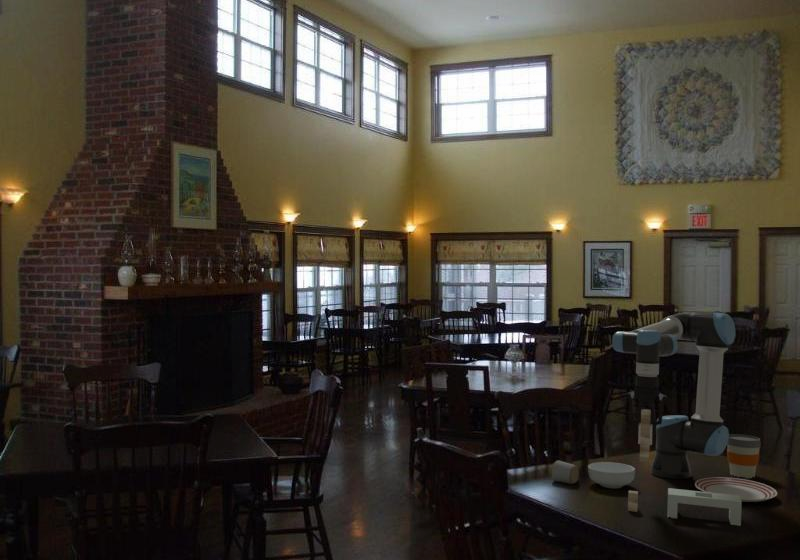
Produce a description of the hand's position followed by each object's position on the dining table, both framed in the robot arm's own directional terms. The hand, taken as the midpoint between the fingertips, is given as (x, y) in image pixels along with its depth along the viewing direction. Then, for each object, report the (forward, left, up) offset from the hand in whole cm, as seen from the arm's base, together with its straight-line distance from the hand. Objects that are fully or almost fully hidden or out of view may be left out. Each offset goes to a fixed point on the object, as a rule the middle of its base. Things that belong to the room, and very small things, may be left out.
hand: (645, 443), depth 278 cm
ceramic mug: (-19, -28, -21) cm, 40 cm away
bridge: (+9, +19, -21) cm, 29 cm away
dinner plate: (-25, +31, -21) cm, 45 cm away
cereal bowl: (-20, -12, -21) cm, 31 cm away
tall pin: (0, 0, -7) cm, 7 cm away
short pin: (+9, -3, -21) cm, 23 cm away
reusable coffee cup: (-58, +36, -21) cm, 71 cm away
